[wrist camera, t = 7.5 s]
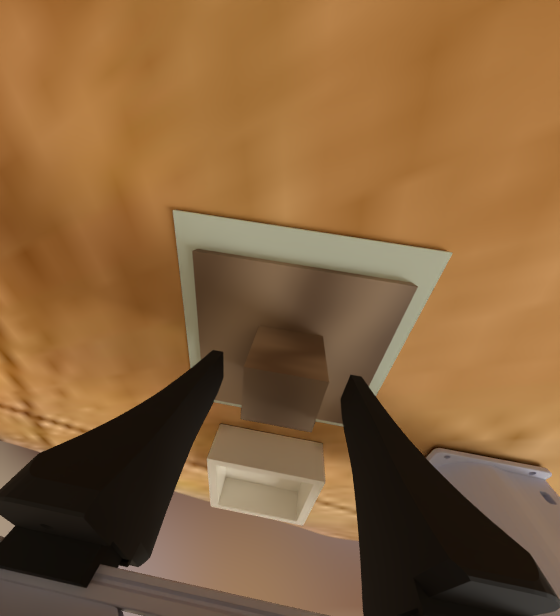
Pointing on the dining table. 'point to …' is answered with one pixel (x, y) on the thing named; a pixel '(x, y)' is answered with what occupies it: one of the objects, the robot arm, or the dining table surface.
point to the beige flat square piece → (309, 252)
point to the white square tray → (265, 474)
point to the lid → (293, 333)
